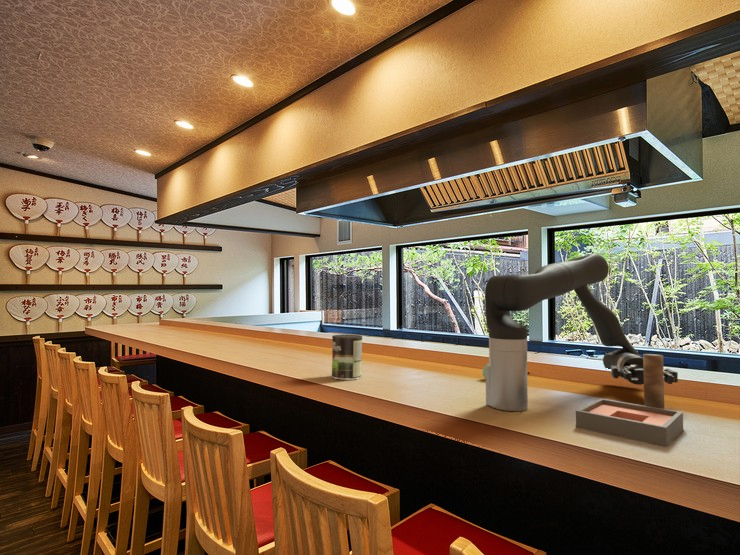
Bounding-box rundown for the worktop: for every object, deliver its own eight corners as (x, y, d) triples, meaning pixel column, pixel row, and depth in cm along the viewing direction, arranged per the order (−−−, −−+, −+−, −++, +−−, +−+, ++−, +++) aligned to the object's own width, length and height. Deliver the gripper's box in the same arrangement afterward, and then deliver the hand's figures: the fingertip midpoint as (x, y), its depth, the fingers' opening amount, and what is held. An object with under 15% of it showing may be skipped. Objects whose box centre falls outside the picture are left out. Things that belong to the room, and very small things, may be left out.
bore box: (575, 427, 89) (575, 410, 89) (600, 413, 100) (600, 398, 100) (666, 446, 77) (666, 427, 78) (683, 428, 89) (682, 412, 89)
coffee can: (338, 381, 135) (339, 337, 136) (327, 376, 144) (327, 335, 145) (367, 379, 140) (367, 336, 140) (354, 374, 149) (354, 334, 149)
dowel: (642, 413, 100) (641, 354, 101) (646, 410, 103) (645, 353, 103) (662, 417, 97) (661, 356, 98) (666, 414, 100) (664, 355, 101)
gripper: (605, 353, 121) (616, 361, 106) (663, 356, 116) (684, 364, 101) (605, 379, 120) (617, 391, 105) (664, 384, 115) (685, 396, 100)
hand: (650, 378), depth 103 cm, fingers open, 8 cm apart
